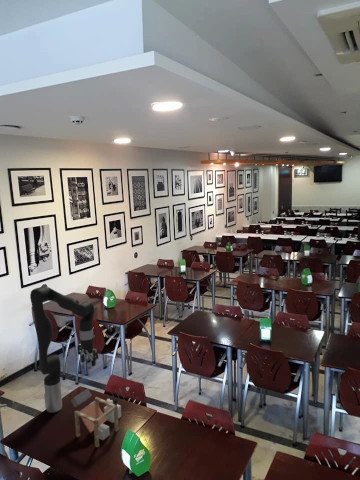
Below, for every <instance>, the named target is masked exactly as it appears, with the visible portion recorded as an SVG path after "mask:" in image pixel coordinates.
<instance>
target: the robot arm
mask: <svg viewBox="0 0 360 480" xmlns="http://www.w3.org/2000/svg"><path fill="white" fill-rule="evenodd" d="M29 297H30V303H31V307H32V311H33V317H34V323H35V332H36V338H37V344H38V345H37V346H38V360H39V369H40V372H41V373H42V374H43V375H46V376H45V377H44V379H43V384H44V385H43V387H44V406H45V409H46V411H47V413H57V412H60V410H62V409H63V397H62V384H61V383H62V382H61V377H62V376H61V375H62V374H61V373H62V372H61V370H62V369H61V367H62V365H61V360H60V358H59V356H58V355H57V354H51V355H49V356H48V351H49V350H48V349H49V348H50V345H51V343H52V341H53V337H54V327H53V323H52V320H51V319H50V318H49V317H48V315H47V314H46V312H45V309H44V304H43V303H46V302H48V301H49V302H55V303H56V304H57V305H58V307H60V308H62V309H64V310H67V311H70V312H71V313H73V314H74V315H76V316H77V317H81V319H80V320H79V324H78V325H79V344H77V355H79V357H80V362H81V363H85V361H86V356H85V355H87V356H88V357H89V358H90V360H91V367H94V366H96V364H97V363H96V362H97V361H96V360H98V359H99V352H98V351H99V350H98V348H97V347H96V348H94V344H95V337H94V330H93V327H94V326H93V320H94V313H95V306H94V304H93V302H91V301H90V300H86V301H84V302H82V303H80V301H79V300H78V299H76V298H73V297H69V296H66V295H64V294H62V293H60V292H58V291H56V290H55V289H53V288H51V287H49V286H45V285H43V286H39V287H36V288H34V289H32V290H31V291H30V295H29Z"/></svg>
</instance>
